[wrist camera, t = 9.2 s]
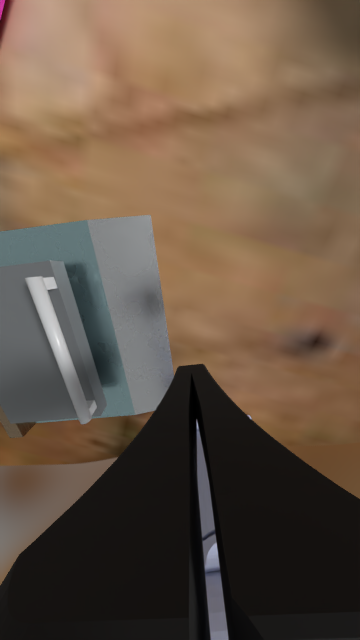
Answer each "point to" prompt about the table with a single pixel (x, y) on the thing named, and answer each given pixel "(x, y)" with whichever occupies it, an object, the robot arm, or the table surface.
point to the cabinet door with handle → (44, 348)
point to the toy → (1, 6)
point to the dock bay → (107, 304)
